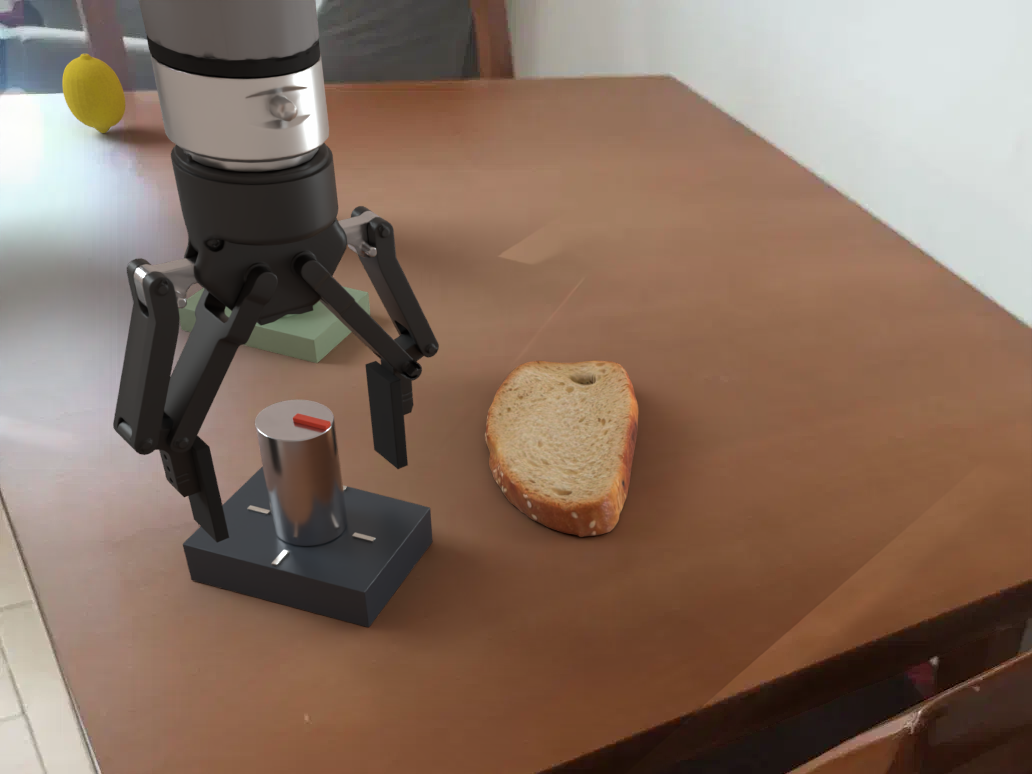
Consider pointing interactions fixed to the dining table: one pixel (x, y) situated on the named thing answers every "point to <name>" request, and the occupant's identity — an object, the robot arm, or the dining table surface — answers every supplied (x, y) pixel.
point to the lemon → (93, 93)
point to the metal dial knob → (302, 471)
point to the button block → (291, 329)
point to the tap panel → (314, 554)
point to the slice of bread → (565, 443)
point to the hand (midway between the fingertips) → (306, 491)
